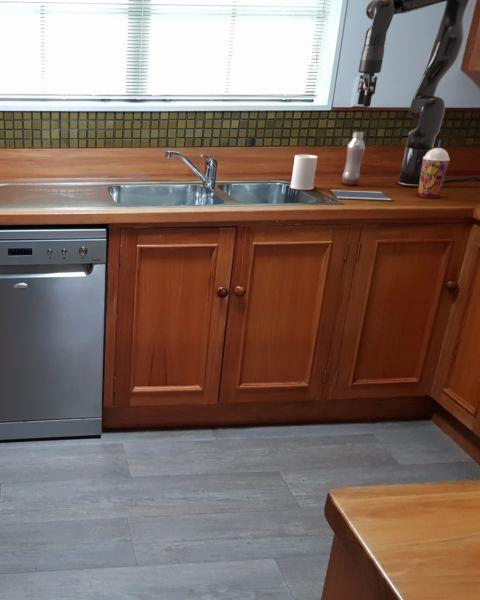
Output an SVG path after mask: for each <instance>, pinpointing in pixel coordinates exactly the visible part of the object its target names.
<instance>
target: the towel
mask: <svg viewBox="0 0 480 600" xmlns="http://www.w3.org/2000/svg"><path fill="white" fill-rule="evenodd" d="M329 191H330V193H331V194H333V196H335V198H336V199H337V200H346V201H347V200H349V201H372V202H373V201H377V202H393V199H391V198H390V197H389V196H388V195H386V194H385V193H384V192H382V191H378V190H377V191H376V190H375V191H374V190H350V189H349V190H347V189H329Z"/></svg>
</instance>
